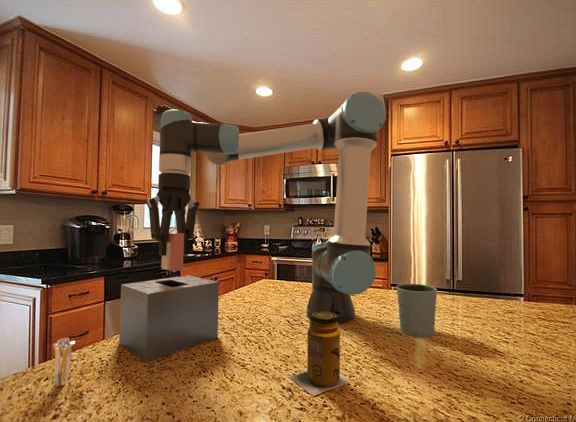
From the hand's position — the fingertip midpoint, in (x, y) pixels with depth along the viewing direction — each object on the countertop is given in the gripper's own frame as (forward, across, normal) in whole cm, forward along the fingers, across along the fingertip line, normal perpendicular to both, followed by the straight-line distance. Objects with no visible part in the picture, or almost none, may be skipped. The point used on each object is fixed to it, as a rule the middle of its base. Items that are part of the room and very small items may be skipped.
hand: (172, 268), depth 75 cm
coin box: (+18, 0, 0) cm, 18 cm away
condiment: (+18, -9, +38) cm, 43 cm away
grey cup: (+18, -48, +43) cm, 67 cm away
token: (0, 0, 0) cm, 0 cm away
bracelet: (+18, +23, +5) cm, 29 cm away
